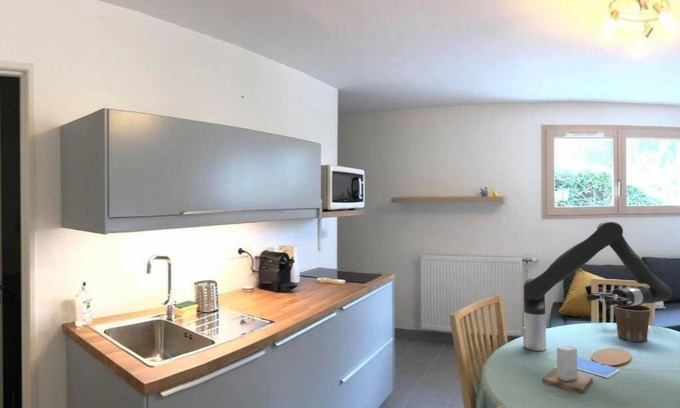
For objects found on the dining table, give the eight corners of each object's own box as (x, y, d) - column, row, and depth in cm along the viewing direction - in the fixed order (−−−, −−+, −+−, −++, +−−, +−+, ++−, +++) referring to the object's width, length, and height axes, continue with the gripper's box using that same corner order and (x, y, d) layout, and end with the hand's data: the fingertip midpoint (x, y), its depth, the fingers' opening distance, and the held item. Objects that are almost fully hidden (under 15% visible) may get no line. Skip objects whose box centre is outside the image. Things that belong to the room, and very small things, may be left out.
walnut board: (542, 382, 160) (542, 378, 160) (553, 371, 170) (553, 367, 170) (583, 393, 150) (582, 389, 150) (592, 380, 160) (592, 377, 160)
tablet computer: (558, 364, 178) (558, 361, 178) (572, 357, 185) (572, 354, 185) (607, 380, 162) (607, 376, 162) (620, 371, 169) (620, 368, 169)
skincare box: (569, 375, 163) (568, 344, 162) (578, 379, 158) (577, 348, 158) (556, 377, 161) (555, 346, 161) (565, 381, 157) (564, 350, 157)
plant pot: (613, 331, 217) (612, 301, 217) (651, 336, 208) (650, 305, 208) (612, 340, 204) (611, 308, 204) (652, 346, 195) (652, 312, 195)
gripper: (611, 284, 178) (581, 287, 173) (643, 291, 164) (612, 295, 160) (611, 301, 178) (582, 305, 174) (643, 310, 164) (612, 314, 160)
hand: (596, 300), depth 167 cm, fingers open, 8 cm apart
